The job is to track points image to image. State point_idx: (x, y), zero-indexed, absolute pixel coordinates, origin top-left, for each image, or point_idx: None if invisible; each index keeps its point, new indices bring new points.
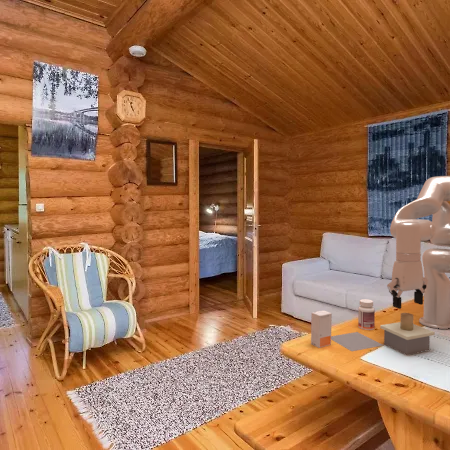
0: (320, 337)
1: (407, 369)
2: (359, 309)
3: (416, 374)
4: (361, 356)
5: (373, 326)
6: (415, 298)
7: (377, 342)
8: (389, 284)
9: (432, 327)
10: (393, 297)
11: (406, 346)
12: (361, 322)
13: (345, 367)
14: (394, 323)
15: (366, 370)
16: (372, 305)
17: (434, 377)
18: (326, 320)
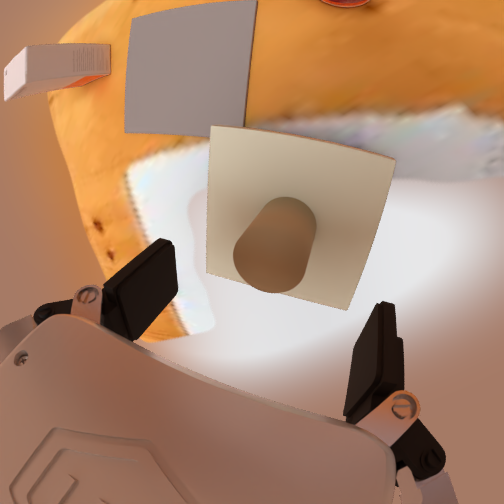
0: (61, 88)
1: (184, 268)
2: None
3: (185, 289)
4: (134, 163)
5: (351, 2)
6: (370, 339)
7: (241, 110)
8: (4, 350)
9: None
10: (103, 292)
11: None
12: None
13: (85, 190)
14: (302, 143)
15: (110, 221)
16: None
17: (208, 314)
18: (32, 88)
